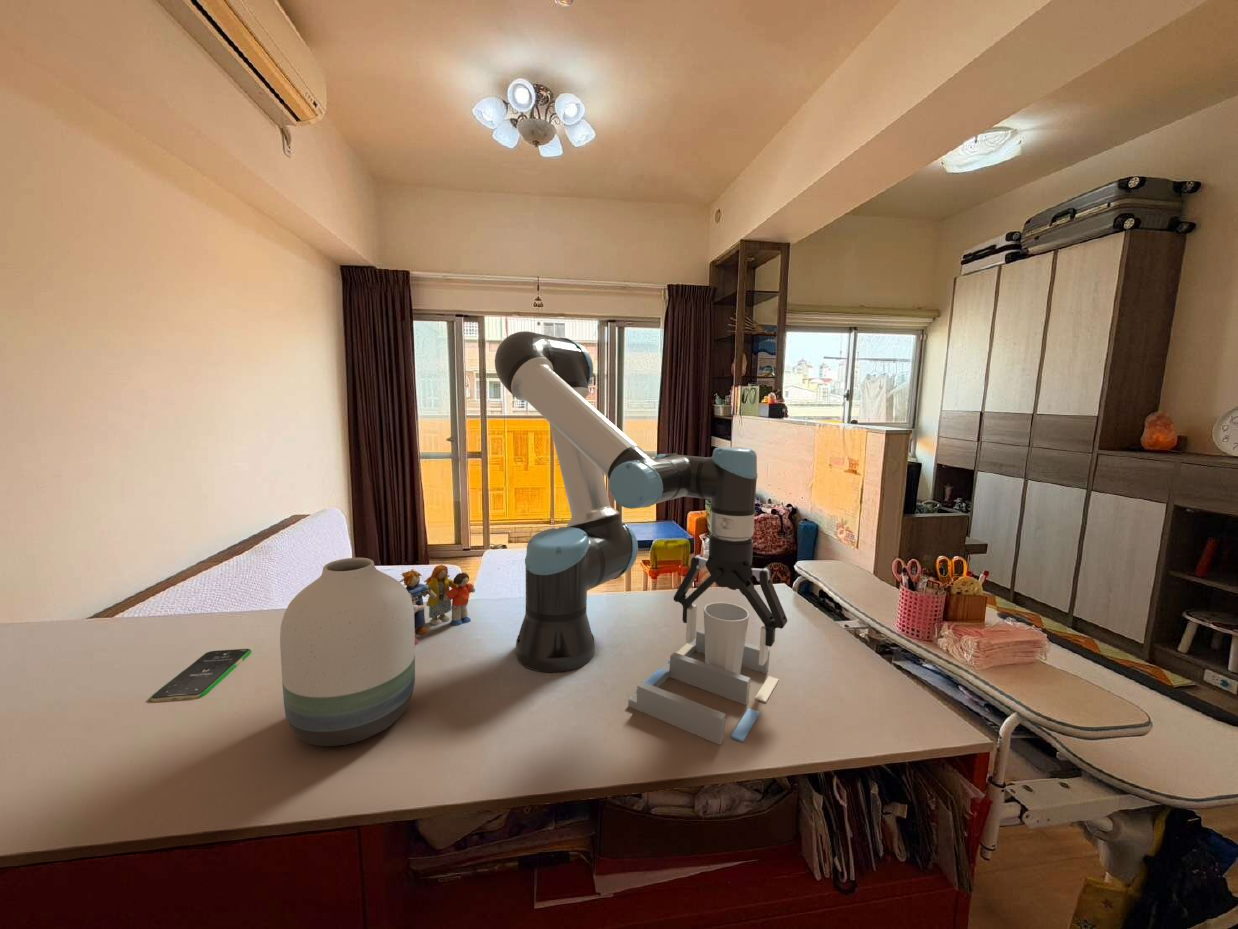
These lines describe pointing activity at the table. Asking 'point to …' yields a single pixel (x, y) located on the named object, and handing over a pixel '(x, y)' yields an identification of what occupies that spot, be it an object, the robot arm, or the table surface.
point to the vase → (347, 654)
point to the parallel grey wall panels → (709, 679)
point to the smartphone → (201, 675)
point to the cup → (725, 635)
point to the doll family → (438, 597)
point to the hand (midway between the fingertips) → (725, 650)
